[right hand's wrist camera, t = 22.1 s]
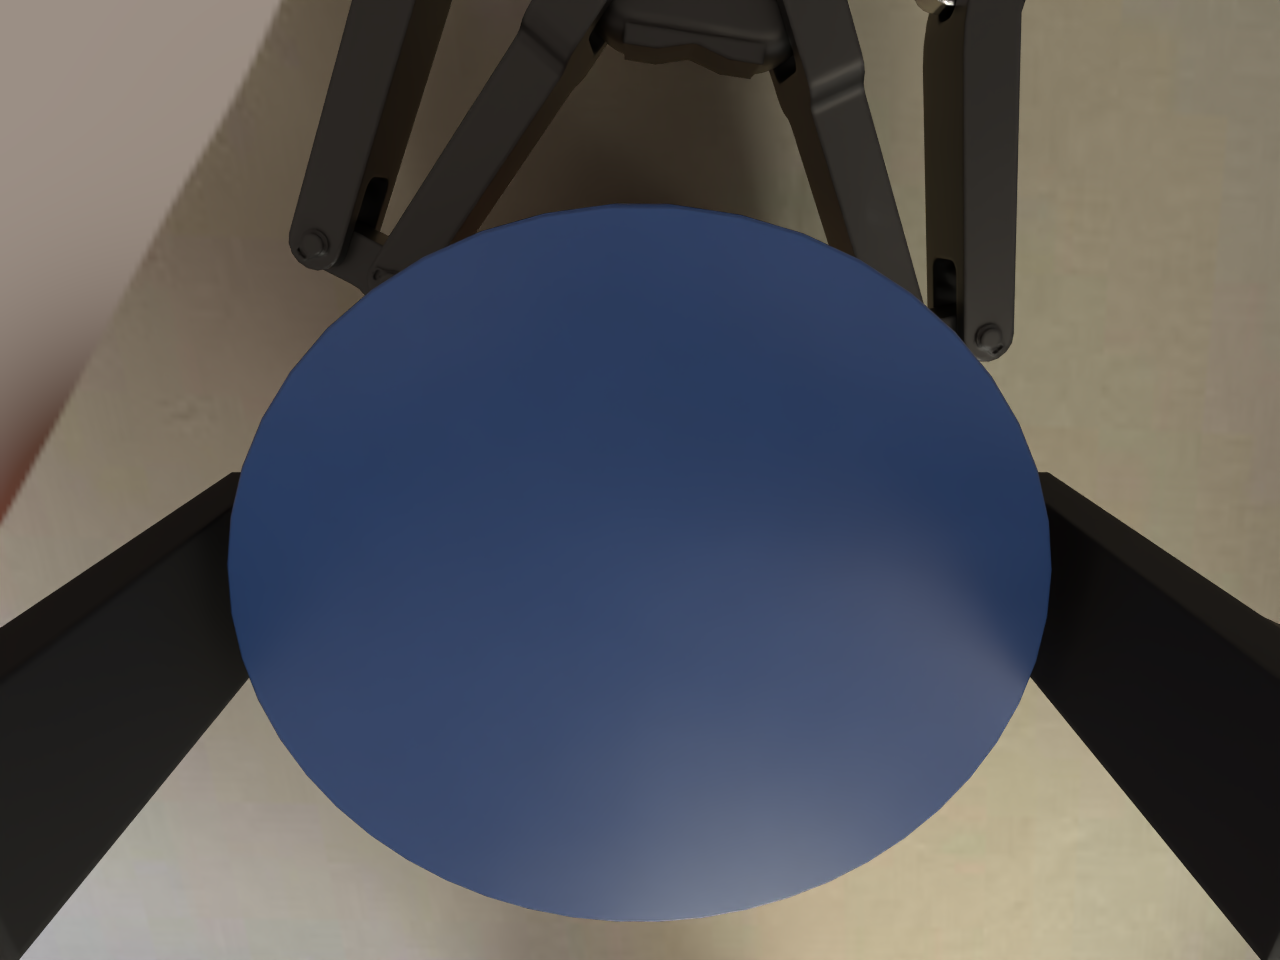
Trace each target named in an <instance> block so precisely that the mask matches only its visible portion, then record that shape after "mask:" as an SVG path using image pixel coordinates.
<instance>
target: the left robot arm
mask: <svg viewBox="0 0 1280 960" xmlns="http://www.w3.org/2000/svg"><path fill="white" fill-rule="evenodd" d="M915 1H916V3H917V5H918V6H919V7H920V8H921V9H922V10H923V11H926V12H928V13H929V17H928V21H927V26H926V33H925V41H924V52H923V96H924V147H925V199H926V251H927V303H928V308H929V309H930V310H931V311H932V312H933V313H934V314H935V315H937V316H938V317H939V318H940V319H941V320H942V321H943V322H944V323H945V324H947V325H948V326H949V327H950V328H951V329H952V330H953V331H954V332H956V334H957V335H958V336H959V337H960V339H961V340H962V341H963V342H964V343H965V345H966V346H967V347H968V348H969V349H970V351H971V352H972V353H973V354H974V356H975V357H976V358H977V359H978V360H979V361H988V362H989V361H992V360H994V359H997V358H999V357H1000V356H1001V355H1003V354H1004V353H1005V352H1006V351H1007V350H1008V348H1009V346H1010V345H1011V343H1012V339H1013V334H1014V299H1015V257H1016V216H1017V174H1018V133H1019V91H1020V49H1021V12H1022V9H1023V6H1024V3H1025V0H915ZM451 3H452V0H352V3H351V6H350V10H349V14H348V17H347V21H346V25H345V29H344V32H343V36H342V40H341V43H340V47H339V51H338V54H337V58H336V62H335V66H334V69H333V73H332V77H331V80H330V84H329V88H328V92H327V95H326V99H325V103H324V106H323V110H322V114H321V117H320V121H319V125H318V129H317V132H316V136H315V140H314V143H313V147H312V151H311V154H310V158H309V162H308V166H307V169H306V173H305V177H304V180H303V184H302V188H301V192H300V195H299V199H298V203H297V206H296V210H295V214H294V217H293V221H292V225H291V229H290V232H289V245H290V248H291V251H292V254H293V255H294V256H295V258H296V259H297V260H298V262H300V263H301V264H303V265H304V266H305V267H307V268H310V269H314V270H325V271H327V272H329V273H331V274H333V275H335V276H337V277H339V278H341V279H343V280H345V281H347V282H349V283H351V284H353V285H354V286H356V287H357V288H359V289H360V290H361V291H362V292H363V293H364V294H365V295H366V294H367V293H368V292H370V291H371V290H372V289H374V288H375V287H377V286H378V285H380V284H381V283H383V282H385V281H386V280H388V279H389V278H391V277H393V276H394V275H396V274H397V273H399V272H400V271H402V270H404V269H405V268H407V267H408V266H410V265H411V264H413V263H415V262H416V261H418V260H419V259H421V258H423V257H424V256H427V255H429V254H431V253H433V252H436V251H438V250H440V249H442V248H445V247H447V246H449V245H451V244H454V243H456V242H458V241H460V240H463V239H465V238H467V237H469V236H472V235H474V234H475V233H476V232H477V230H478V229H479V227H480V226H481V224H482V223H483V221H484V220H485V218H486V217H487V216H488V214H489V213H490V211H491V210H492V208H493V207H494V205H495V204H496V202H497V201H498V199H499V198H500V196H501V195H502V193H503V192H504V190H505V189H506V187H507V186H508V184H509V183H510V181H511V180H512V179H513V177H514V176H515V174H516V173H517V171H518V170H519V168H520V167H521V165H522V164H523V162H524V161H525V159H526V158H527V156H528V155H529V153H530V152H531V150H532V149H533V147H534V146H535V145H536V143H537V142H538V140H539V139H540V137H541V136H542V134H543V133H544V131H545V130H546V128H547V127H548V125H549V124H550V122H551V121H552V119H553V118H554V116H555V115H556V113H557V112H558V111H559V109H560V108H561V106H562V105H563V103H564V102H565V100H566V99H567V97H568V96H569V94H570V93H571V91H572V90H573V89H574V88H575V87H576V86H577V85H578V84H579V83H580V82H581V81H582V79H583V78H584V77H585V76H586V74H587V73H588V71H589V70H590V69H591V67H592V66H593V64H594V63H595V61H596V60H597V58H598V57H599V55H600V54H601V52H602V51H603V49H604V48H605V46H606V45H607V44H609V45H610V46H611V47H613V48H614V49H616V50H617V51H619V52H621V53H623V54H624V57H625V60H631V61H637V62H644V63H650V64H662V63H668V62H675V61H682V60H691V61H693V62H695V63H697V64H699V65H702V66H704V67H706V68H708V69H710V70H712V71H714V72H716V73H718V74H721V75H728V76H734V77H741V78H747V79H751V77H752V76H753V75H754V74H758V73H763V72H766V71H769V72H770V75H771V78H772V81H773V84H774V87H775V91H776V94H777V97H778V100H779V103H780V106H781V108H782V110H783V112H784V114H785V115H786V117H787V118H788V120H789V122H790V125H791V127H792V130H793V134H794V137H795V140H796V143H797V146H798V149H799V153H800V156H801V159H802V162H803V165H804V168H805V172H806V175H807V178H808V181H809V184H810V187H811V190H812V194H813V197H814V200H815V203H816V206H817V209H818V213H819V216H820V219H821V222H822V225H823V228H824V232H825V235H826V238H827V241H828V244H829V246H832V247H834V248H836V249H838V250H840V251H842V252H845V253H847V254H849V255H851V256H853V257H855V258H858V259H860V260H861V261H863V262H865V263H866V264H868V265H869V266H871V267H872V268H874V269H875V270H877V271H878V272H880V273H881V274H883V275H884V276H886V277H887V278H889V279H891V280H892V281H894V282H895V283H897V284H898V285H900V286H901V287H903V288H904V289H906V290H907V291H909V292H910V293H912V294H913V295H914V296H915V297H916V298H917V299H919V300H920V301H921V302H922V303H923V300H922V296H921V293H920V289H919V285H918V282H917V278H916V275H915V271H914V268H913V264H912V260H911V257H910V253H909V250H908V246H907V242H906V239H905V235H904V232H903V228H902V224H901V221H900V217H899V214H898V210H897V206H896V203H895V199H894V196H893V192H892V188H891V185H890V181H889V178H888V174H887V170H886V167H885V163H884V160H883V156H882V152H881V149H880V145H879V142H878V138H877V134H876V131H875V127H874V124H873V120H872V116H871V113H870V109H869V106H868V102H867V98H866V95H865V91H864V74H865V70H864V61H863V56H862V52H861V48H860V45H859V41H858V38H857V34H856V30H855V27H854V23H853V19H852V16H851V12H850V8H849V5H848V1H847V0H532V1H531V3H530V4H529V6H528V8H527V10H526V12H525V14H524V16H523V19H522V22H521V26H520V29H519V31H518V34H517V35H516V37H515V39H514V41H513V42H512V44H511V45H510V47H509V48H508V50H507V52H506V53H505V55H504V56H503V58H502V59H501V61H500V63H499V64H498V66H497V67H496V69H495V70H494V72H493V74H492V75H491V77H490V78H489V80H488V81H487V83H486V85H485V86H484V88H483V89H482V91H481V92H480V94H479V96H478V97H477V99H476V100H475V102H474V104H473V105H472V107H471V108H470V110H469V111H468V113H467V115H466V116H465V118H464V119H463V121H462V122H461V124H460V126H459V127H458V129H457V130H456V132H455V133H454V135H453V137H452V138H451V140H450V141H449V143H448V144H447V146H446V148H445V149H444V151H443V152H442V154H441V155H440V157H439V159H438V160H437V162H436V163H435V165H434V166H433V168H432V170H431V171H430V173H429V174H428V176H427V177H426V179H425V181H424V182H423V184H422V185H421V187H420V188H419V190H418V192H417V193H416V195H415V196H414V198H413V199H412V201H411V203H410V204H409V206H408V207H407V209H406V210H405V212H404V214H403V215H402V217H401V218H400V220H399V221H398V223H397V225H396V226H395V228H394V229H393V231H392V233H391V234H390V236H387V235H385V234H383V233H381V232H380V229H381V226H382V223H383V220H384V216H385V213H386V210H387V207H388V204H389V200H390V197H391V194H392V191H393V188H394V184H395V181H396V178H397V175H398V172H399V168H400V165H401V162H402V159H403V156H404V152H405V149H406V146H407V143H408V140H409V137H410V133H411V130H412V127H413V124H414V121H415V117H416V114H417V111H418V108H419V105H420V101H421V98H422V95H423V92H424V89H425V85H426V82H427V79H428V76H429V73H430V70H431V66H432V63H433V60H434V57H435V54H436V50H437V47H438V44H439V41H440V38H441V34H442V31H443V28H444V25H445V22H446V18H447V15H448V12H449V9H450V6H451ZM923 304H924V303H923Z"/></svg>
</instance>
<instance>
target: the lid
mask: <svg viewBox="0 0 1280 960" xmlns="http://www.w3.org/2000/svg"><path fill="white" fill-rule="evenodd" d="M227 570H228V582H229V594H230V607H231V614H232V619H233V623H234V627H235V632H236V636H237V640H238V644H239V649H240V653H241V657H242V660H243V662H244V665H245V667H246V670H247V673H248V675H249V678H250V680H251V683H252V685H253V688H254V691H255V693H256V696H257V698H258V700H259V702H260V704H261V706H262V708H263V709H264V711H265V713H266V715H267V717H268V718H269V720H270V722H271V724H272V726H273V727H274V729H275V731H276V733H277V735H278V736H279V738H280V740H281V741H282V742H283V744H284V745H285V746H286V748H287V749H288V751H289V752H290V753H291V755H292V756H293V757H294V759H295V760H296V761H297V763H298V764H299V765H300V767H301V768H302V769H303V771H304V772H305V774H306V775H307V776H308V777H309V778H310V779H311V780H312V781H313V782H314V783H315V784H316V785H317V786H318V788H319V789H320V790H321V791H322V792H323V793H324V794H325V795H326V796H327V797H328V798H329V799H330V800H331V801H332V802H333V803H334V804H335V806H336V807H338V808H339V809H340V810H341V811H342V812H344V813H345V814H346V815H347V816H348V817H349V818H351V819H352V820H353V821H354V822H355V823H357V824H358V825H359V826H360V827H361V828H363V829H364V830H365V831H366V832H367V833H369V834H370V835H371V836H373V837H374V838H376V839H377V840H379V841H380V842H382V843H383V844H385V845H386V846H388V847H389V848H391V849H392V850H393V851H395V852H396V853H398V854H399V855H401V856H402V857H404V858H405V859H407V860H409V861H411V862H413V863H415V864H416V865H418V866H420V867H422V868H424V869H426V870H428V871H430V872H432V873H434V874H435V875H437V876H439V877H441V878H443V879H445V880H447V881H450V882H452V883H455V884H457V885H460V886H462V887H465V888H467V889H469V890H472V891H474V892H477V893H479V894H482V895H484V896H487V897H490V898H494V899H497V900H501V901H504V902H507V903H511V904H514V905H518V906H521V907H524V908H528V909H532V910H538V911H543V912H548V913H553V914H558V915H563V916H569V917H576V918H586V919H596V920H607V921H643V922H660V921H671V920H683V919H694V918H704V917H710V916H715V915H721V914H726V913H731V912H737V911H742V910H747V909H751V908H754V907H758V906H761V905H765V904H768V903H772V902H775V901H779V900H782V899H786V898H789V897H792V896H794V895H797V894H799V893H802V892H804V891H807V890H810V889H812V888H815V887H817V886H820V885H822V884H825V883H827V882H830V881H832V880H834V879H836V878H838V877H840V876H841V875H843V874H845V873H847V872H849V871H851V870H853V869H855V868H857V867H859V866H861V865H863V864H865V863H867V862H869V861H870V860H872V859H873V858H875V857H876V856H878V855H879V854H881V853H882V852H884V851H886V850H887V849H889V848H890V847H892V846H893V845H895V844H896V843H898V842H899V841H901V840H902V839H904V838H905V837H907V836H908V835H909V834H910V833H911V832H913V831H914V830H915V829H916V828H918V827H919V826H920V825H921V824H922V823H924V822H925V821H926V820H927V819H928V818H930V817H931V816H932V815H933V814H935V813H936V812H937V811H938V810H939V809H940V808H941V807H942V806H943V805H944V804H945V803H946V802H947V801H948V800H949V799H950V798H951V797H952V796H953V795H954V794H955V793H956V792H957V791H958V790H959V789H960V788H961V787H962V786H963V785H964V784H965V782H966V781H967V780H968V779H969V778H970V777H971V776H972V774H973V773H974V772H975V771H976V769H977V768H978V767H979V765H980V764H981V763H982V761H983V760H984V759H985V757H986V756H987V755H988V753H989V752H990V751H991V749H992V748H993V747H994V745H995V744H996V743H997V741H998V739H999V738H1000V736H1001V734H1002V732H1003V731H1004V729H1005V727H1006V725H1007V724H1008V722H1009V720H1010V718H1011V717H1012V715H1013V713H1014V711H1015V710H1016V708H1017V706H1018V704H1019V702H1020V700H1021V697H1022V695H1023V692H1024V690H1025V687H1026V685H1027V683H1028V680H1029V678H1030V675H1031V673H1032V670H1033V668H1034V665H1035V663H1036V660H1037V656H1038V652H1039V647H1040V643H1041V639H1042V635H1043V631H1044V627H1045V623H1046V619H1047V613H1048V602H1049V592H1050V582H1051V571H1052V568H1051V551H1050V533H1049V520H1048V515H1047V511H1046V506H1045V502H1044V497H1043V492H1042V488H1041V483H1040V479H1039V474H1038V470H1037V468H1036V465H1035V463H1034V460H1033V458H1032V455H1031V452H1030V450H1029V447H1028V445H1027V442H1026V440H1025V437H1024V435H1023V432H1022V429H1021V427H1020V424H1019V422H1018V420H1017V419H1016V417H1015V415H1014V414H1013V412H1012V410H1011V409H1010V407H1009V405H1008V403H1007V402H1006V400H1005V398H1004V397H1003V395H1002V393H1001V392H1000V390H999V388H998V386H997V385H996V383H995V381H994V380H993V378H992V376H991V375H990V374H989V373H988V371H987V370H986V369H985V368H984V367H983V365H982V364H981V363H980V362H979V360H978V359H977V358H976V357H975V356H974V354H973V353H972V352H971V351H970V349H969V348H968V347H967V346H966V345H965V343H964V342H963V341H962V340H961V339H960V337H959V336H958V335H957V334H956V332H954V331H953V330H952V329H951V328H950V327H949V326H948V325H947V324H945V323H944V322H943V321H942V320H941V319H940V318H939V317H938V316H937V315H935V314H934V313H933V312H932V311H931V310H930V309H929V308H928V307H926V306H925V305H924V304H923V303H922V302H921V301H920V300H919V299H917V298H916V297H915V296H914V295H913V294H912V293H910V292H909V291H907V290H906V289H904V288H903V287H901V286H900V285H898V284H897V283H895V282H894V281H892V280H891V279H889V278H887V277H886V276H884V275H883V274H881V273H880V272H878V271H877V270H875V269H874V268H872V267H871V266H869V265H868V264H866V263H865V262H863V261H861V260H860V259H858V258H855V257H853V256H851V255H849V254H847V253H845V252H842V251H840V250H838V249H836V248H834V247H832V246H829V245H827V244H825V243H823V242H821V241H819V240H816V239H814V238H812V237H810V236H808V235H806V234H803V233H800V232H797V231H793V230H790V229H787V228H783V227H780V226H777V225H773V224H770V223H767V222H763V221H760V220H756V219H753V218H750V217H746V216H743V215H739V214H732V213H726V212H720V211H713V210H706V209H700V208H693V207H686V206H679V205H673V204H617V203H616V204H608V205H601V206H593V207H586V208H578V209H571V210H564V211H557V212H551V213H544V214H540V215H537V216H533V217H530V218H526V219H523V220H519V221H516V222H512V223H509V224H505V225H501V226H498V227H494V228H491V229H487V230H484V231H481V232H478V233H476V234H474V235H472V236H469V237H467V238H465V239H463V240H460V241H458V242H456V243H454V244H451V245H449V246H447V247H445V248H442V249H440V250H438V251H436V252H433V253H431V254H429V255H427V256H424V257H423V258H421V259H419V260H418V261H416V262H415V263H413V264H411V265H410V266H408V267H407V268H405V269H404V270H402V271H400V272H399V273H397V274H396V275H394V276H393V277H391V278H389V279H388V280H386V281H385V282H383V283H381V284H380V285H378V286H377V287H375V288H374V289H372V290H371V291H370V292H368V293H367V294H366V295H365V296H364V297H363V298H362V299H360V300H359V301H358V302H357V303H356V304H355V305H353V306H352V307H351V308H350V309H349V310H348V311H347V312H345V313H344V314H343V315H342V316H341V317H340V318H338V319H337V320H336V321H335V322H334V323H333V324H332V325H330V326H329V327H328V328H327V329H326V330H325V331H324V333H323V334H322V335H321V336H320V337H319V338H318V340H317V341H316V342H315V343H314V344H313V346H312V347H311V348H310V349H309V350H308V351H307V353H306V354H305V355H304V356H303V357H302V359H301V360H300V361H299V362H298V363H297V364H296V366H295V367H294V368H293V369H292V370H291V372H290V373H289V375H288V376H287V378H286V380H285V381H284V383H283V385H282V386H281V388H280V390H279V391H278V393H277V394H276V396H275V398H274V399H273V401H272V403H271V404H270V406H269V408H268V409H267V411H266V413H265V414H264V416H263V417H262V420H261V422H260V424H259V427H258V429H257V432H256V434H255V437H254V439H253V442H252V444H251V446H250V449H249V451H248V454H247V456H246V459H245V461H244V464H243V466H242V470H241V474H240V479H239V483H238V487H237V491H236V496H235V500H234V504H233V509H232V513H231V519H230V532H229V546H228V560H227Z"/></svg>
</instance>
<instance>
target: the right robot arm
mask: <svg viewBox="0 0 1280 960" xmlns="http://www.w3.org/2000/svg"><path fill="white" fill-rule="evenodd" d="M240 474H241V472H232V473H230V474H229V475H227V476H226V477H224V478H223V479H221V480H220V481H218V482H217V483H215V484H214V485H212V486H211V487H209V488H208V489H206V490H205V491H203V492H202V493H200V494H199V495H197V496H196V497H194V498H193V499H192V500H190V501H189V502H187V503H186V504H184V505H183V506H181V507H180V508H178V509H177V510H175V511H174V512H172V513H171V514H169V515H168V516H166V517H165V518H163V519H162V520H160V521H159V522H157V523H156V524H154V525H153V526H151V527H150V528H148V529H147V530H145V531H144V532H142V533H141V534H139V535H138V536H136V537H135V538H133V539H132V540H130V541H129V542H128V543H126V544H125V545H123V546H122V547H120V548H119V549H117V550H116V551H114V552H113V553H111V554H110V555H108V556H107V557H105V558H104V559H102V560H101V561H99V562H98V563H96V564H95V565H93V566H92V567H90V568H89V569H87V570H86V571H84V572H83V573H81V574H80V575H78V576H77V577H75V578H74V579H72V580H71V581H69V582H68V583H67V584H65V585H64V586H62V587H61V588H59V589H58V590H56V591H55V592H53V593H52V594H50V595H49V596H47V597H46V598H44V599H43V600H41V601H40V602H38V603H37V604H35V605H34V606H32V607H31V608H29V609H28V610H26V611H25V612H23V613H22V614H20V615H19V616H17V617H16V618H14V619H13V620H11V621H10V622H8V623H7V624H6V625H4V626H3V627H1V628H0V960H19V959H20V958H21V957H22V955H23V954H24V953H25V952H26V951H27V949H28V948H29V947H30V946H31V944H32V943H33V942H34V941H35V940H36V938H37V937H38V936H39V935H40V933H41V932H42V931H43V930H44V928H45V927H46V926H47V925H48V924H49V922H50V921H51V920H52V919H53V917H54V916H55V915H56V914H57V913H58V911H59V910H60V909H61V908H62V906H63V905H64V904H65V903H66V901H67V900H68V899H69V898H70V897H71V895H72V894H73V893H74V892H75V890H76V889H77V888H78V887H79V886H80V884H81V883H82V882H83V881H84V879H85V878H86V877H87V876H88V875H89V873H90V872H91V871H92V870H93V868H94V867H95V866H96V865H97V863H98V862H99V861H100V860H101V859H102V857H103V856H104V855H105V854H106V852H107V851H108V850H109V849H110V848H111V846H112V845H113V844H114V843H115V841H116V840H117V839H118V838H119V836H120V835H121V834H122V833H123V832H124V830H125V829H126V828H127V827H128V825H129V824H130V823H131V822H132V821H133V819H134V818H135V817H136V816H137V814H138V813H139V812H140V811H141V810H142V808H143V807H144V806H145V805H146V803H147V802H148V801H149V800H150V798H151V797H152V796H153V795H154V794H155V792H156V791H157V790H158V789H159V787H160V786H161V785H162V784H163V783H164V781H165V780H166V779H167V778H168V776H169V775H170V774H171V773H172V771H173V770H174V769H175V768H176V767H177V765H178V764H179V763H180V762H181V760H182V759H183V758H184V757H185V756H186V754H187V753H188V752H189V751H190V749H191V748H192V747H193V746H194V745H195V743H196V742H197V741H198V740H199V738H200V737H201V736H202V735H203V733H204V732H205V731H206V730H207V729H208V727H209V726H210V725H211V724H212V722H213V721H214V720H215V719H216V718H217V716H218V715H219V714H220V713H221V711H222V710H223V709H224V708H225V706H226V705H227V704H228V703H229V702H230V700H231V699H232V698H233V697H234V695H235V694H236V693H237V692H238V691H239V689H240V688H241V687H242V686H243V684H244V683H245V682H246V681H247V680H248V678H249V675H248V673H247V670H246V667H245V665H244V662H243V660H242V657H241V653H240V649H239V644H238V640H237V636H236V632H235V627H234V623H233V619H232V614H231V607H230V594H229V582H228V570H227V560H228V546H229V532H230V519H231V513H232V509H233V504H234V500H235V496H236V491H237V487H238V483H239V479H240ZM1038 474H1039V479H1040V483H1041V488H1042V492H1043V497H1044V502H1045V506H1046V511H1047V515H1048V520H1049V533H1050V551H1051V568H1052V571H1051V582H1050V592H1049V602H1048V613H1047V619H1046V623H1045V627H1044V631H1043V635H1042V639H1041V643H1040V647H1039V652H1038V656H1037V660H1036V663H1035V665H1034V668H1033V670H1032V673H1031V675H1030V677H1031V678H1032V680H1033V681H1034V682H1035V683H1036V684H1037V686H1038V687H1039V688H1040V689H1041V691H1042V692H1043V693H1044V694H1045V695H1046V697H1047V698H1048V699H1049V700H1050V702H1051V703H1052V704H1053V705H1054V706H1055V708H1056V709H1057V710H1058V711H1059V713H1060V714H1061V715H1062V716H1063V718H1064V719H1065V720H1066V721H1067V722H1068V724H1069V725H1070V726H1071V727H1072V729H1073V730H1074V731H1075V732H1076V733H1077V735H1078V736H1079V737H1080V738H1081V740H1082V741H1083V742H1084V743H1085V745H1086V746H1087V747H1088V748H1089V749H1090V751H1091V752H1092V753H1093V754H1094V756H1095V757H1096V758H1097V759H1098V760H1099V762H1100V763H1101V764H1102V765H1103V767H1104V768H1105V769H1106V770H1107V771H1108V773H1109V774H1110V775H1111V776H1112V778H1113V779H1114V780H1115V781H1116V783H1117V784H1118V785H1119V786H1120V787H1121V789H1122V790H1123V791H1124V792H1125V794H1126V795H1127V796H1128V797H1129V798H1130V800H1131V801H1132V802H1133V803H1134V805H1135V806H1136V807H1137V808H1138V810H1139V811H1140V812H1141V813H1142V814H1143V816H1144V817H1145V818H1146V819H1147V821H1148V822H1149V823H1150V824H1151V825H1152V827H1153V828H1154V829H1155V830H1156V832H1157V833H1158V834H1159V835H1160V836H1161V838H1162V839H1163V840H1164V841H1165V843H1166V844H1167V845H1168V846H1169V848H1170V849H1171V850H1172V851H1173V852H1174V854H1175V855H1176V856H1177V857H1178V859H1179V860H1180V861H1181V862H1182V863H1183V865H1184V866H1185V867H1186V868H1187V870H1188V871H1189V872H1190V873H1191V875H1192V876H1193V877H1194V878H1195V879H1196V881H1197V882H1198V883H1199V884H1200V886H1201V887H1202V888H1203V889H1204V890H1205V892H1206V893H1207V894H1208V895H1209V897H1210V898H1211V899H1212V900H1213V901H1214V903H1215V904H1216V905H1217V906H1218V908H1219V909H1220V910H1221V911H1222V913H1223V914H1224V915H1225V916H1226V917H1227V919H1228V920H1229V921H1230V922H1231V924H1232V925H1233V926H1234V927H1235V928H1236V930H1237V931H1238V932H1239V933H1240V935H1241V936H1242V937H1243V938H1244V940H1245V941H1246V942H1247V943H1248V944H1249V946H1250V947H1251V948H1252V949H1253V951H1254V952H1255V953H1256V954H1257V955H1258V957H1259V958H1260V959H1261V960H1280V624H1278V623H1275V622H1273V621H1271V620H1269V619H1267V618H1264V617H1263V616H1261V615H1260V614H1258V613H1257V612H1255V611H1254V610H1252V609H1251V608H1249V607H1248V606H1246V605H1245V604H1243V603H1242V602H1240V601H1239V600H1237V599H1236V598H1234V597H1233V596H1231V595H1230V594H1228V593H1227V592H1225V591H1224V590H1222V589H1221V588H1219V587H1218V586H1216V585H1215V584H1213V583H1212V582H1211V581H1209V580H1208V579H1206V578H1205V577H1203V576H1202V575H1200V574H1199V573H1197V572H1196V571H1194V570H1193V569H1191V568H1190V567H1188V566H1187V565H1185V564H1184V563H1182V562H1181V561H1179V560H1178V559H1176V558H1175V557H1173V556H1172V555H1170V554H1169V553H1167V552H1166V551H1164V550H1163V549H1161V548H1160V547H1158V546H1157V545H1155V544H1154V543H1152V542H1151V541H1150V540H1148V539H1147V538H1145V537H1144V536H1142V535H1141V534H1139V533H1138V532H1136V531H1135V530H1133V529H1132V528H1130V527H1129V526H1127V525H1126V524H1124V523H1123V522H1121V521H1120V520H1118V519H1117V518H1115V517H1114V516H1112V515H1111V514H1109V513H1108V512H1106V511H1105V510H1103V509H1102V508H1100V507H1099V506H1097V505H1096V504H1094V503H1093V502H1091V501H1090V500H1088V499H1087V498H1086V497H1084V496H1083V495H1081V494H1080V493H1078V492H1077V491H1075V490H1074V489H1072V488H1071V487H1069V486H1068V485H1066V484H1065V483H1063V482H1062V481H1060V480H1059V479H1057V478H1056V477H1054V476H1053V475H1051V474H1050V473H1048V472H1038Z"/></svg>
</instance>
